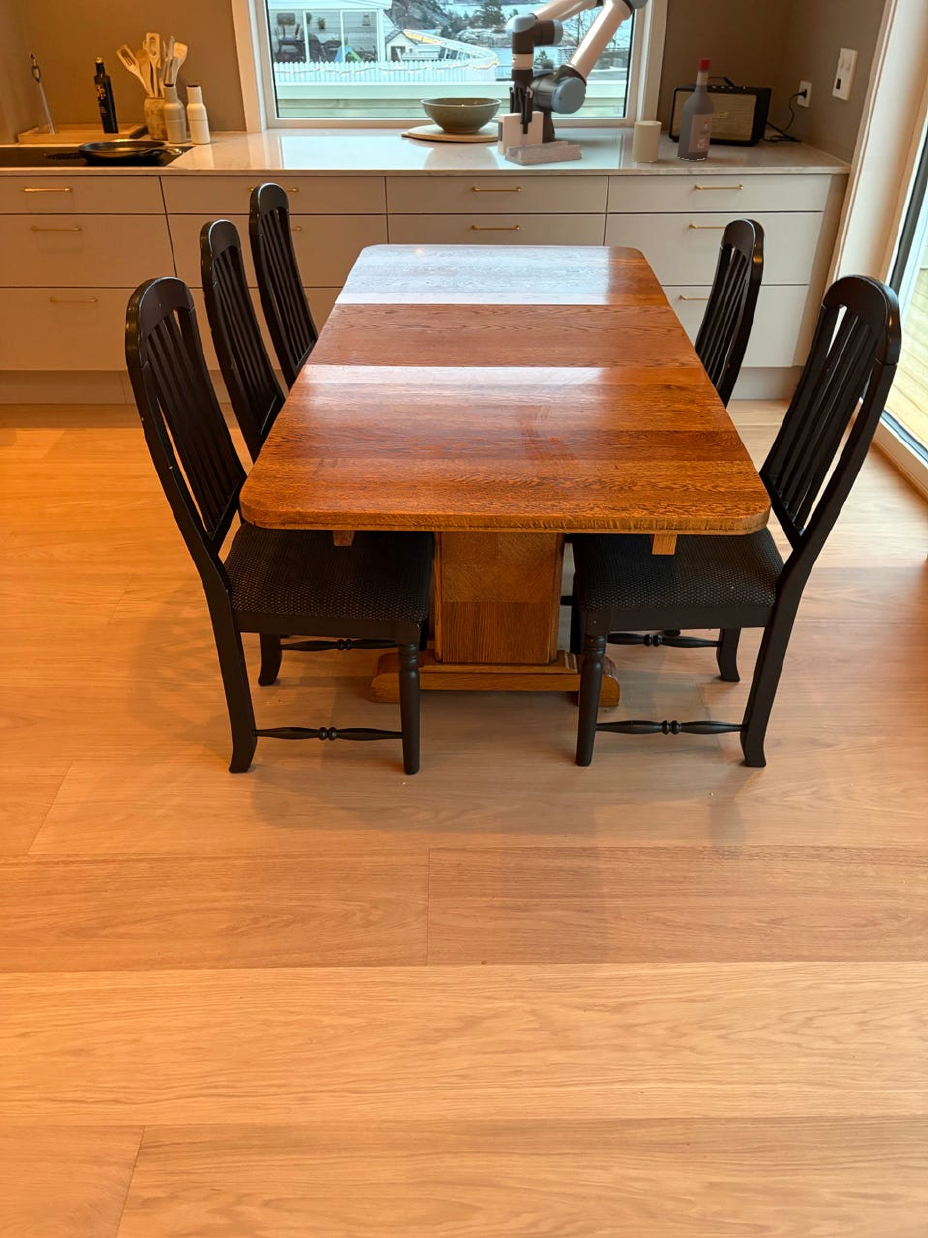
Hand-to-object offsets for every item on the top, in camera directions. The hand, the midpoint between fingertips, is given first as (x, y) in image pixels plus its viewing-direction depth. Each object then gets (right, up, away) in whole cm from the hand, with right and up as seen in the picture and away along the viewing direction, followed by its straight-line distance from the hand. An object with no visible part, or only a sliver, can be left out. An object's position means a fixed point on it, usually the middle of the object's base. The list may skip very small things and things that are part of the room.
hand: (520, 142), depth 337 cm
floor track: (+7, -11, -10) cm, 16 cm away
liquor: (+59, -11, -10) cm, 61 cm away
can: (+42, -12, -11) cm, 45 cm away
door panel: (0, -2, +2) cm, 3 cm away
